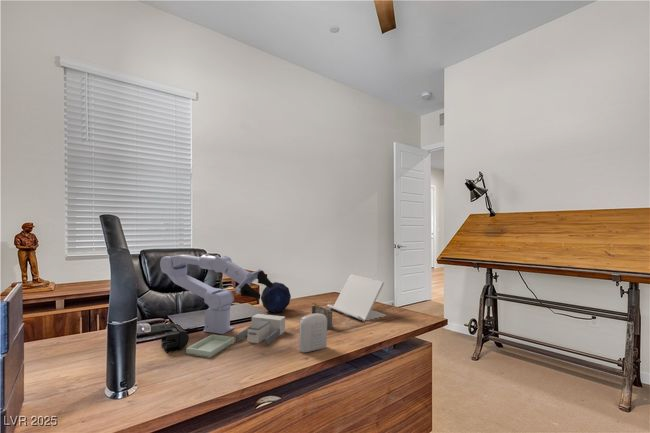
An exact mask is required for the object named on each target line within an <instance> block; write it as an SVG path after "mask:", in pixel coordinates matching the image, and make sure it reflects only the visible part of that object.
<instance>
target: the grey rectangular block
mask: <svg viewBox="0 0 650 433" xmlns="http://www.w3.org/2000/svg"><path fill="white" fill-rule="evenodd" d="M269 328H270V321H261V320H259V321H257V322H256V323H254V324H252V325H251V324H250V325H249V326H248V327H247V328H246V329H248V336H246V337H247V338H246V339H247V341H246V342H247V343H252V344H253V343H254V344H260V343H261V342H263V340H264V341H265V338H266V337H268V336H269V335H270V334H269Z"/></svg>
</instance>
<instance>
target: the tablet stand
mask: <svg viewBox="0 0 650 433" xmlns="http://www.w3.org/2000/svg"><path fill="white" fill-rule="evenodd" d="M384 284H385V282H384V281H382V280H377V279H374V278H373V279H372V278H369V277H364V276H360V275H356V274H352V273H351V274H350V275H349V276H348V278H347V280H346V282H345V283H344V285H343V287H342V289H341V291H340V293H339V295H338V297H337V299H336V301H335V303H334V304H333V305H331V304H329V303H328V304H327V307H328V308H330V309H332V310H334V311H337V312H339V313H341V314H344V315H346V316H349V317H351V318H354V319H356V320H359V321H361V320H362V322H366V321H365V320H368V321H371V320H370V319H372V320H375V319H374V318H377V319H380V318H379V317H382V318H385V317H384V316H386V317H387V315H386V314H385V313H382V312H379V311H377V310H376V311H375V310H374V309H373V307H374V305H375V303H376V301H377V299H378V296H379V295H380V292H381V291H382V289H383V286H384Z"/></svg>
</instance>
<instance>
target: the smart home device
mask: <svg viewBox="0 0 650 433" xmlns="http://www.w3.org/2000/svg"><path fill="white" fill-rule="evenodd" d="M174 323H175V322H172V323H166V324H165V323H164V324H159V325H152V326H150V327H151V332H150V333H148V334H147V335H151V336H156V335H155V334H157V335H162V333H161V329H162V328H167V327H173V324H174ZM138 335H139V334H138V333H137V337H138ZM141 335H142V334H141Z"/></svg>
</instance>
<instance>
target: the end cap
mask: <svg viewBox="0 0 650 433" xmlns="http://www.w3.org/2000/svg"><path fill="white" fill-rule="evenodd" d="M161 333H163V334H164V335H162V336H161V337H160V338H161V339H160V341H161V344H160V346H161V347H162V348H163V349H164V351H165V353H166V354H169V353H174V352H179V351H181V350H182V349H184V348H185V347H186V346H187V345H188V343H189V340H190V337H189V336H190V335H189V333H187V331H186V330H184V329H183V328H182V327H181V326H180V325H178V324H173V327H167V328H162V329H161Z"/></svg>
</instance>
